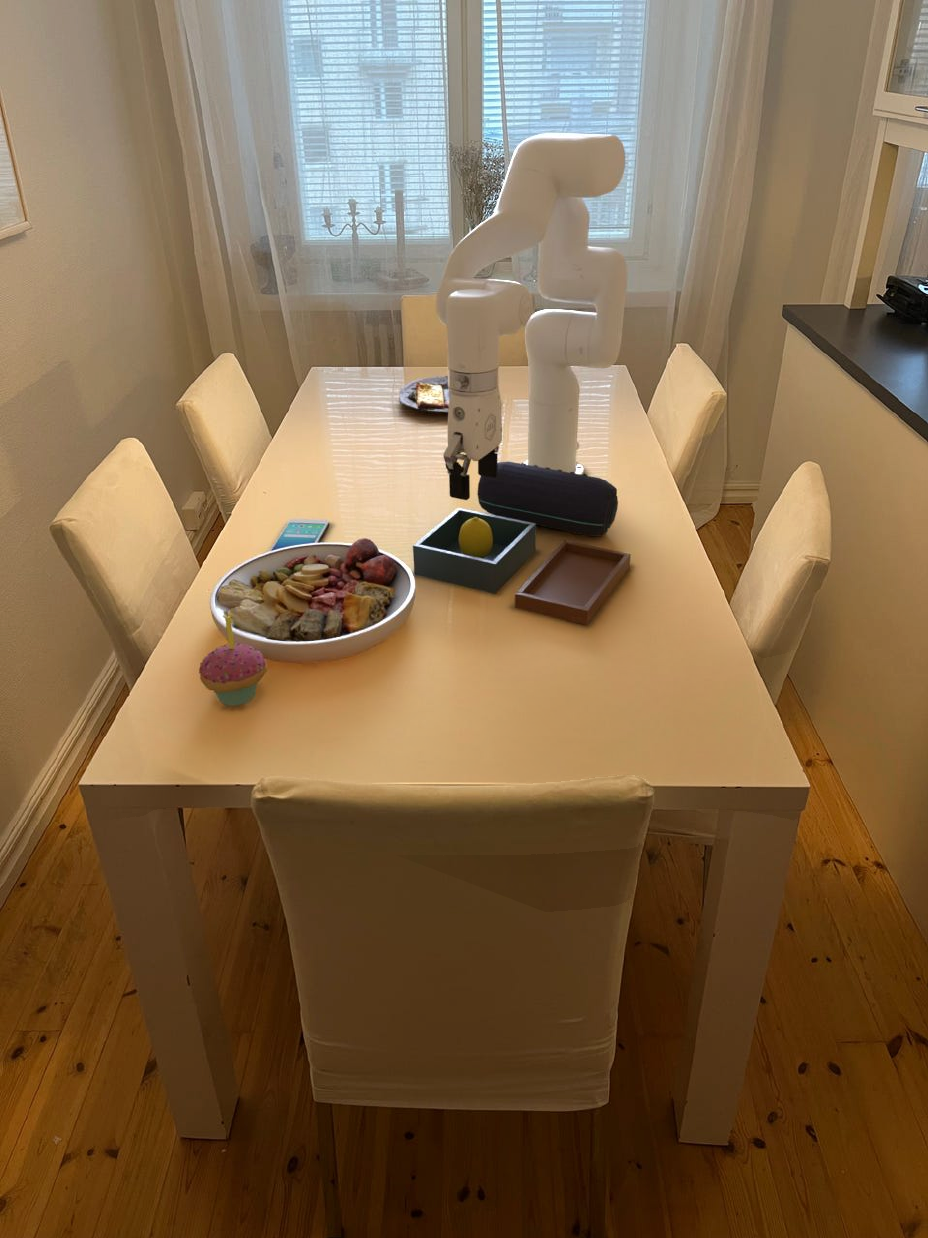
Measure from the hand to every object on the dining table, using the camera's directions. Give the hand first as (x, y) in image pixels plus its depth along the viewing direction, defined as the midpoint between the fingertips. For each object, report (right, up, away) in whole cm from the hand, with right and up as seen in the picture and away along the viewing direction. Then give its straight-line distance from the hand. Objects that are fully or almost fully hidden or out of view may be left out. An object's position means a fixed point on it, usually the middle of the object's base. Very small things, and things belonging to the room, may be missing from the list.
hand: (474, 486), depth 146 cm
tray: (+16, -16, 0) cm, 22 cm away
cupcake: (-32, -31, -22) cm, 50 cm away
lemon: (0, -11, +8) cm, 14 cm away
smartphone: (-30, -8, +15) cm, 34 cm away
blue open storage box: (0, -12, +8) cm, 14 cm away
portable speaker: (+13, -4, +20) cm, 24 cm away
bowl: (-24, -21, -6) cm, 32 cm away
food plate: (-5, +31, +77) cm, 83 cm away
